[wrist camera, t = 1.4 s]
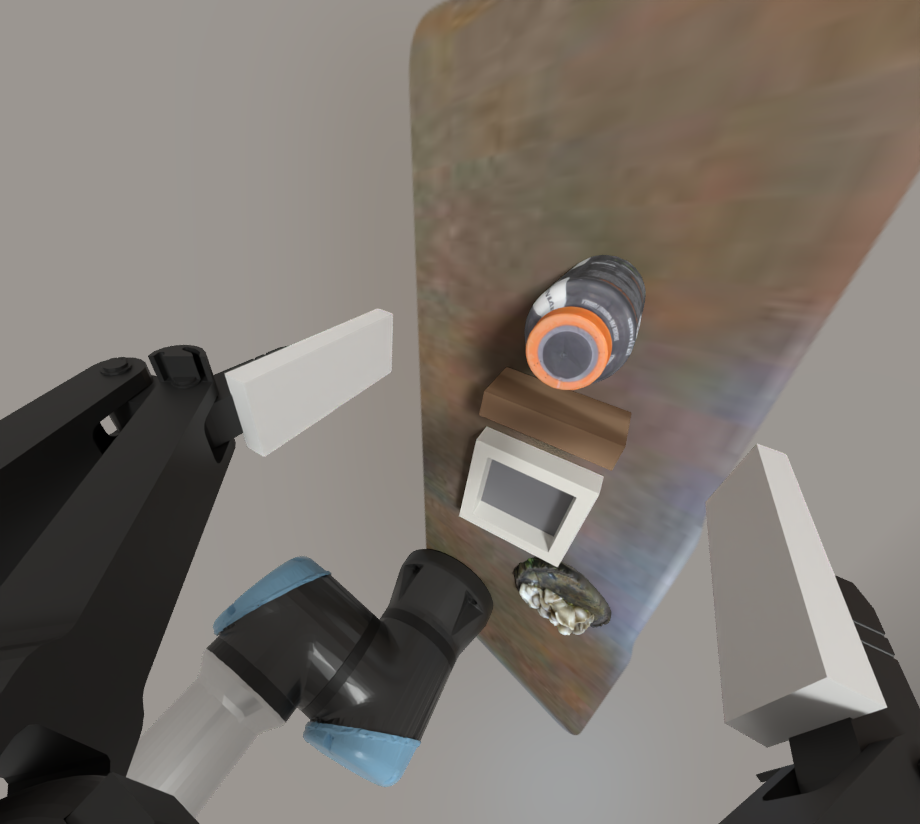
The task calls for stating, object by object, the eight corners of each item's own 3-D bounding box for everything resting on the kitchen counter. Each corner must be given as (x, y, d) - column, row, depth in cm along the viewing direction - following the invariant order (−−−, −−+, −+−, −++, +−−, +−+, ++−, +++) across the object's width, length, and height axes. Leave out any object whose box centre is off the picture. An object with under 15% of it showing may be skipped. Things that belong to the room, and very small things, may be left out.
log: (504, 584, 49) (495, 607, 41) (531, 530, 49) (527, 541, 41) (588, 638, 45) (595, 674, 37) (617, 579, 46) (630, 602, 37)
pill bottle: (549, 270, 26) (490, 311, 18) (637, 240, 23) (617, 272, 14) (569, 345, 28) (524, 414, 20) (652, 328, 25) (642, 401, 16)
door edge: (619, 435, 30) (611, 470, 26) (500, 389, 33) (478, 415, 29) (631, 412, 29) (625, 447, 25) (506, 366, 32) (484, 391, 28)
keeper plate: (562, 549, 40) (557, 567, 38) (468, 501, 43) (459, 516, 41) (603, 476, 33) (599, 494, 31) (486, 426, 36) (476, 439, 34)
